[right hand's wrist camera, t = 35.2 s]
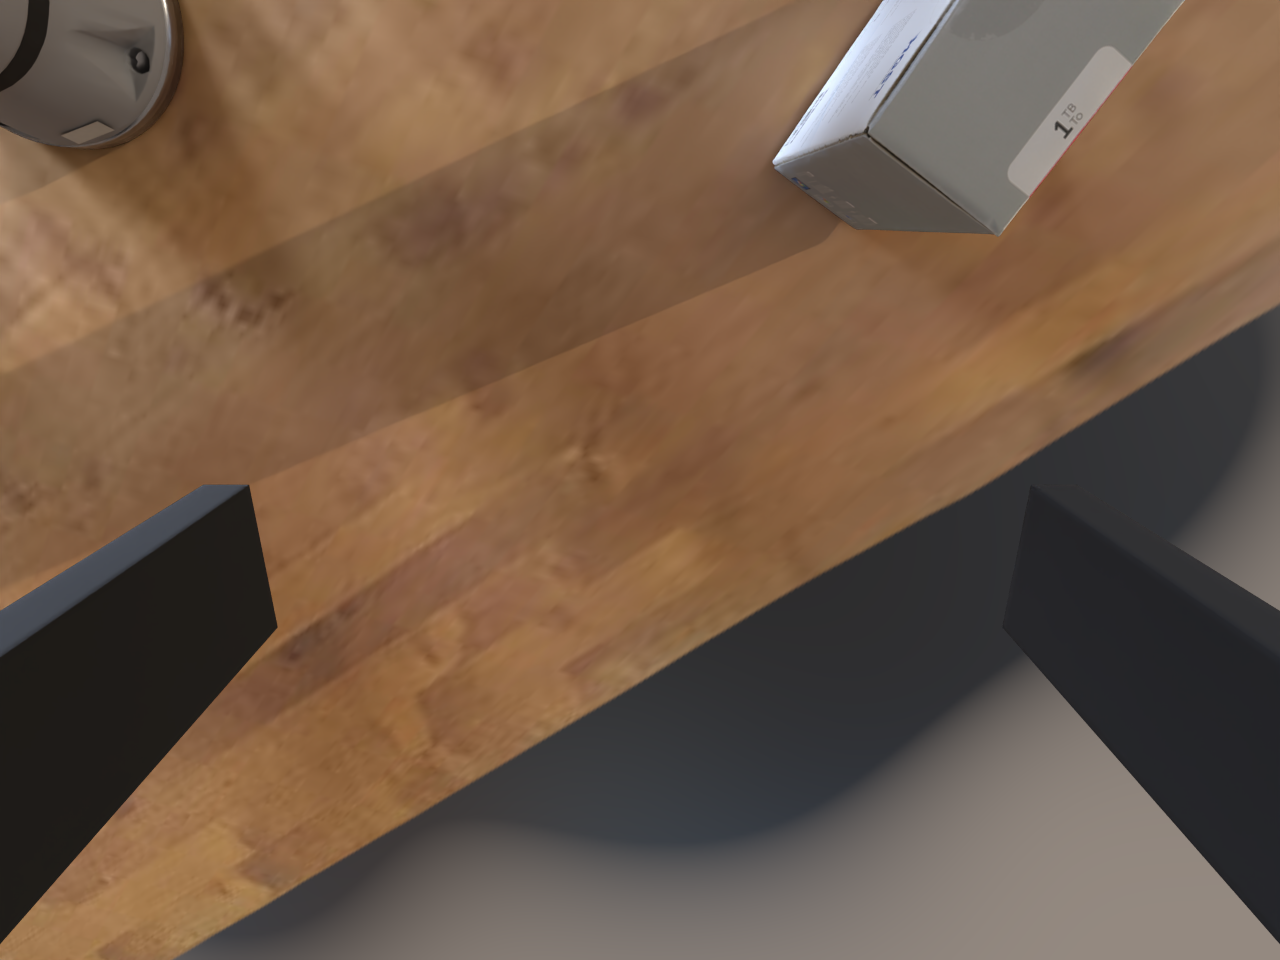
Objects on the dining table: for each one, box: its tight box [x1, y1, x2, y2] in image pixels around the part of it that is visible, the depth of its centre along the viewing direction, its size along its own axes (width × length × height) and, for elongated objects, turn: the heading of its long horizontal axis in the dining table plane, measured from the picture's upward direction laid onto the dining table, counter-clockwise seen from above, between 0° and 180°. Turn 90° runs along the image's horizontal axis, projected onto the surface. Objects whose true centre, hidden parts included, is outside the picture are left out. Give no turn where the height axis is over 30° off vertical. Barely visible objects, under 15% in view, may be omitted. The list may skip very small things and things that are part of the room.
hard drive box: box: [773, 0, 1185, 236], centre depth 37 cm, size 16×8×20 cm, turn 146°
